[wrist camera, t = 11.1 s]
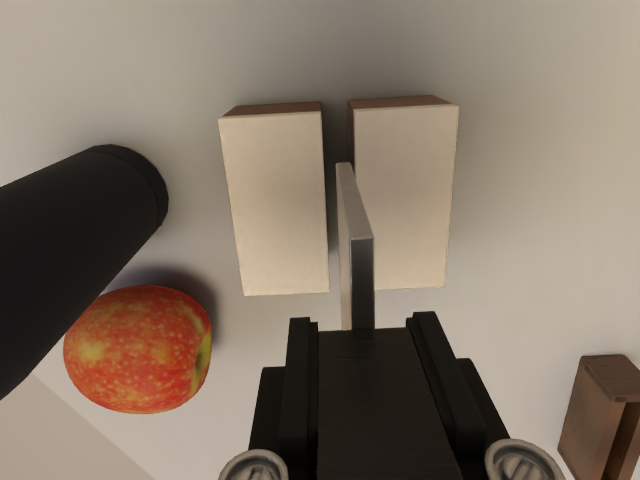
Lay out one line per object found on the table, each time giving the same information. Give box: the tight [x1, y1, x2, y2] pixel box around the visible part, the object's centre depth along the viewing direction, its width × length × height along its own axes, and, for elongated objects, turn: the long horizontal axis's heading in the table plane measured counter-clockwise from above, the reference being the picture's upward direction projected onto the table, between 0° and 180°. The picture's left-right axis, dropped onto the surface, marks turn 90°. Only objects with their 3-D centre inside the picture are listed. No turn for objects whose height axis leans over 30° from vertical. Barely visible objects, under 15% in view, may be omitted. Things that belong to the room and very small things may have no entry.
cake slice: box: [348, 95, 459, 290], centre depth 24 cm, size 10×5×5 cm, turn 3°
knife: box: [316, 162, 463, 480], centre depth 13 cm, size 8×2×13 cm, turn 3°
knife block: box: [558, 355, 640, 480], centre depth 33 cm, size 10×3×4 cm, turn 3°
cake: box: [218, 102, 330, 296], centre depth 25 cm, size 10×5×5 cm, turn 3°
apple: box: [63, 285, 212, 414], centre depth 27 cm, size 8×8×8 cm
